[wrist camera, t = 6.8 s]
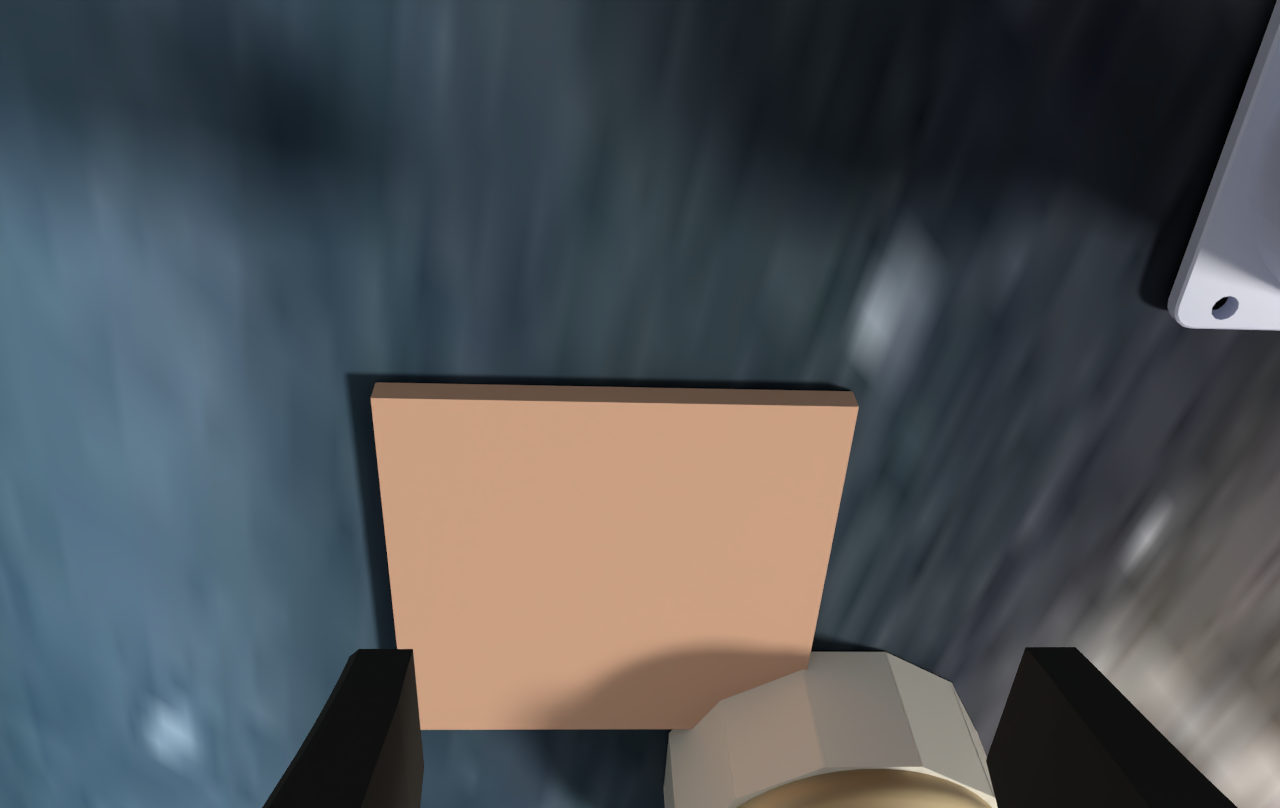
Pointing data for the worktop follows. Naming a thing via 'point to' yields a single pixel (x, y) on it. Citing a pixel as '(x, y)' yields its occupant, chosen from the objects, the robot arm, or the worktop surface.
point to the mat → (604, 546)
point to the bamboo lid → (869, 792)
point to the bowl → (826, 732)
